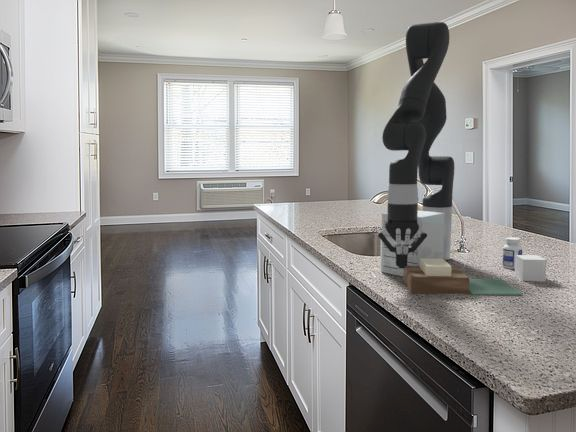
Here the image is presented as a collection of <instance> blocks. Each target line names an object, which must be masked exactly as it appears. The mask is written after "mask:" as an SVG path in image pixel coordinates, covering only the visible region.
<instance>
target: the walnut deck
mask: <svg viewBox="0 0 576 432" xmlns="http://www.w3.org/2000/svg"><path fill="white" fill-rule="evenodd" d="M402 279H403V282H404V284H405V285H406V287H407V289H408V291H409V292H410V293H411V294H455V295H456V294H458V295H459V294H463V295H465V294H466V295H467V294H468V295H469V294H470V293H469V279H470V277H469V276H468V275H467V274H465V272H463V271H462V270H461V269H460V268H459V267H457V266H452V267H451V276H426V275H425V273H424V272H423V271H422V270H421V268H420V266H405V268H404V276H403V278H402Z"/></svg>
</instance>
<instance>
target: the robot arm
mask: <svg viewBox="0 0 576 432" xmlns="http://www.w3.org/2000/svg"><path fill="white" fill-rule="evenodd" d="M449 45H450V30H449V26H448V25H447V23H445V22H443V21H439V22H438V21H437V22H428V23H427V22H424V23H416V24H415V23H414V24H411V25H409V26H408V28H407V29H406V32H405V50H406V55H407V61H408V67H409V73H410V78H409V79H408V80H407V81H406V82H405V84H404V86H403V88H402V90H401V94H400V96H399V100H398V105H397V107H396V109H395V110H394V111H393V113H392V114H391V116H390V118H389V119H388V121H387V123H386V124H385V127H384V129H383V131H382V137H381V138H382V143H383V146H384V147H385V148H386V149H387V150H388V151H392V152H393V151H395V152H396V151H407V154H406V156H405V157H404V158H402V159H401V158H400V159H397V160H393V161H391V162H390V163H389V166H388V167H389V170H388V171H389V173H388V175H389V176H388V183H389V184H388V190H387V212H386V213H387V223H386V225H385V229H383V230H382V229H381V230H380V231H378V232H377V233H376V234H377V236H378V238H379V239H380V240H381V242H382V241H383V243H384V244H385V245H386V246H387V248H388V249H389V250H390V251H391V252H394V253H396V265H397V266H398V268H405V266H407V258H408V253H410V252H414V251H415V250H416V249H417V248H418V247H419V245H420V244H421V243H422V242H423V241H424V239H425V238H426V237H427V234H426V233H425V232H423V231H422V230H420V229H419V225H418V222H417V213H418V211H419V210H418V208H419V207H418V206H419V191H418V190H419V189H418V178H419V181H420V183H421V184H422V185H426V186H441V189H440V190H439V191H436V192H435V193H432V194H429V195H425V196H423V198H422V210H421V211H429V212H440V213H445V219H444V253H443V259H444V260H445V261H449V260H450V259H451V248H452V244H451V243H452V220H453V218H452V217H453V215H452V214H453V190H454V189H453V188H454V178H455V161H454V158H453V157H452V156H449V155H447V156H444V155H443V156H434V155H430V150H431V148H432V146H433V144H434V142H435V141H436V139H437V138H438V135H440V133H441V132H442V130H443V128H444V127H445V125H446V122H447V106H446V105H447V104H446V103H447V102H446V97H445V95H444V93H443V91H441V89H440V87H439V86H438V85H437V84H436V83H435V80H436V78H437V76H438V74H439V71H440V69H441V67H442V65H443V63H444V60H445V58H446V56H447V52H448V49H449ZM424 59H425V60H426V61H425V62H424ZM387 232H388V233H389V234H390V236H391V237H392V238H393V239H394V242H395V247H393V246H392V245H391V244H390V243H389V241H388V240H387V239H386V238H387V236H388V235H387ZM416 232H417V234H416ZM415 234H416V237H417V238H416V239H415V240H414V242H413V243H412V244H411V245H410V246H409V241H410V240H411V239H412V238H413V236H414V235H415ZM401 241H402V253H401Z"/></svg>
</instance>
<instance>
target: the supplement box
mask: <svg viewBox="0 0 576 432" xmlns="http://www.w3.org/2000/svg"><path fill="white" fill-rule="evenodd" d="M444 219H445V213H440V212H429V211H422V210H418V213H417V222H418V225H419V229H420V230H422V231H423V232H425V233H426V234H427V237H426V238H425V239H424V241H423V242H422V243H421V244H420V245H419V247H418V248H417V249H416V250H415V251H414V252H410V253H408V258H407V266H420V259H443V253H444ZM386 223H387V212H383V213H381V231H382V230H383V229H385V225H386ZM416 234H417V232H416ZM416 234H415V235H414V236H413V238H412V239H411V240H410V241H409V246H410V245H411V244H412V243H413V242H414V240H415V239H416V238H417V237H416ZM387 235H388V236H387V238H386V239H387V240H388V241H389V243H390V244H391V245H392V246H393V247H395V242H394V239H393V238H392V237H391V236H390V234H389V233H388V232H387ZM380 250H381V253H380V255H381V256H380V257H381V258H380V260H381V261H380V262H381V263H380V271H381V273H385V274H389V275H395V276H400V277H404V268H398V266H397V265H396V253H394V252H391V251H390V250H389V249H388V248H387V246H386V245H385V244H384V243H383V241H382V240H381V249H380ZM401 253H402V241H401Z"/></svg>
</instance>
